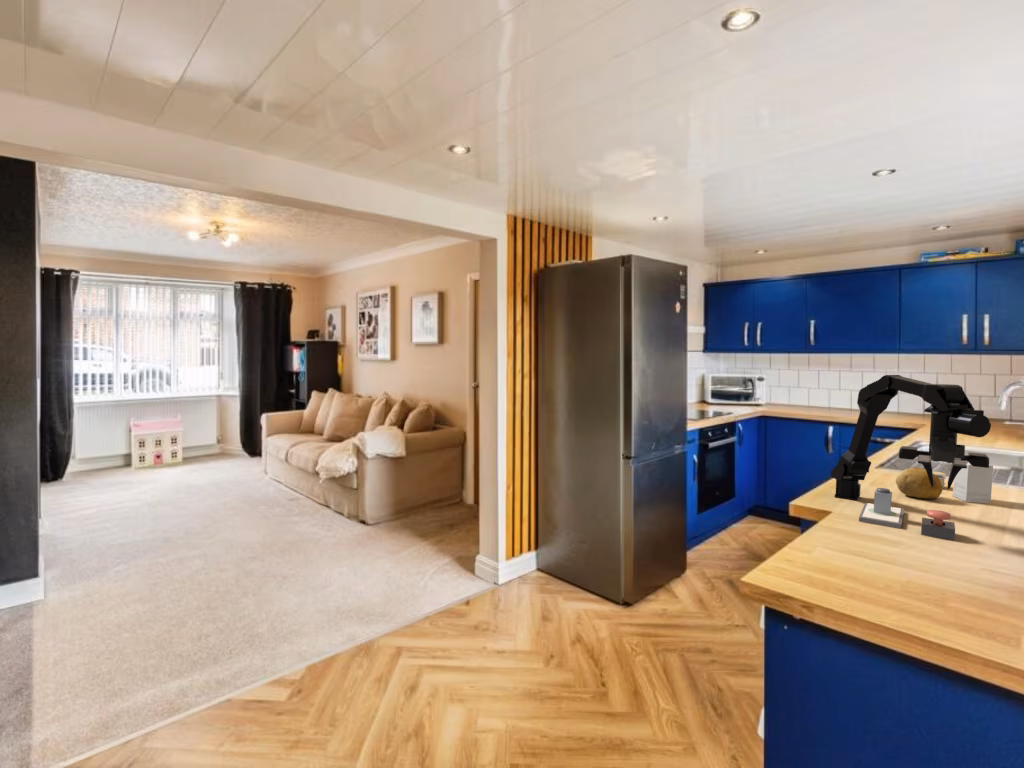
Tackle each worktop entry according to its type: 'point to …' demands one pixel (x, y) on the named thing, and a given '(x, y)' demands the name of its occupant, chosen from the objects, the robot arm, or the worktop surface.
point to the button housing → (938, 529)
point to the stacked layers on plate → (940, 477)
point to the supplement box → (973, 484)
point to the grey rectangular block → (882, 501)
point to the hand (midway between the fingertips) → (940, 487)
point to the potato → (918, 484)
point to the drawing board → (882, 516)
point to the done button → (938, 516)
